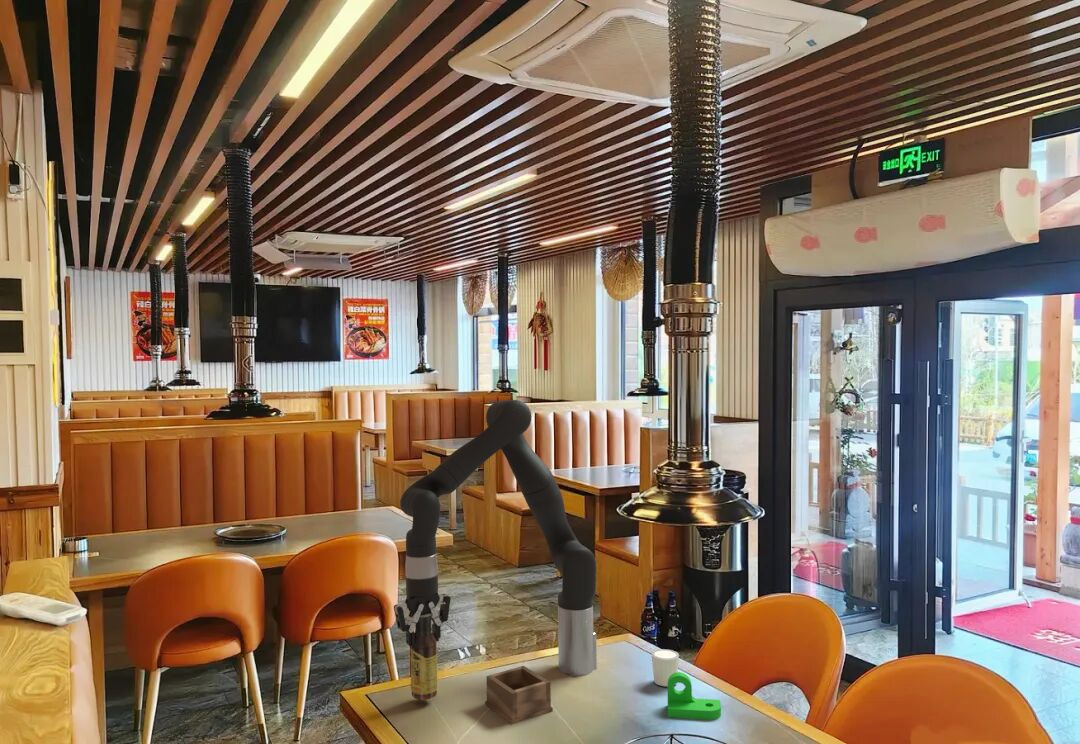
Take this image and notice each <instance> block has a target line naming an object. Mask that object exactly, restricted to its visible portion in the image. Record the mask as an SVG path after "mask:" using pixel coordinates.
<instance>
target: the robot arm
mask: <svg viewBox="0 0 1080 744" xmlns="http://www.w3.org/2000/svg"><path fill="white" fill-rule="evenodd" d="M485 422H486V425H487V427H486V428H485V429H484V430H483V431H482V432H480V433H479V434H478V435H477V436H475V437H474V438H473V439H471V440H470V441H468V442H466V443H465V444H462V446H460V447H459V448H457V449H456V450H454V451H453V452H452V453H451V454H450V455H449V456H447V457H446V458H445V459H444V460H443V461H442V462H441V463H440V464H439V465H438V466H436V467H435V469H433V471H431V472H430V473H427V474H426V475H425V476H423V477H422V478H420V479H418V480H417V481H415V482H414V483H412V484H411V485H410V486H408V488H406V490H405V491H404V492H403V494H402V495H401V498H400V501H399V505H400V509H401V511H402V512H403V513H404V514H405V515H406V516H408V517H410V518H412V523H411V524H412V525H411V529H409V530H408V531H407V532H406V536H405V566H404V567H405V594H406V598H405V601H404V602H403V603H401V604H397V603H396V604H394V605H393V611H394V616H395V620H396V626H397V629H398V630H400V631H401V632H405V643H406V645H407V646H408V647H409V648H410V647H411V648H414V647H415V625H416V623H417V622H418V620H419V617H420V615H424V614H428V613H432V620H431V628H432V631H431V632H432V634H433V635H434V637H435V639H436V643H437V642H439V641H440V639H441V635H442V634H441V631H442V630H441V627H442V626H441V625H442V624H443V623H444V622H448V620H449V614H450V607H451V606H450V605H451V596H450V595H448V594H445V593H443V594H441V595H440V594H439V573H438V571H439V567H438V558H437V538H436V534H437V532H438V527H439V521H440V517H441V503H440V500H439V498H440V497H441V496H443V495H450V494H452V493H453V492H454V491H455V490H457V489H458V488H459V487H460V486H461V485H462V484H463V483H464V482H465V481H467V479H469V477H470V476H471V475H472V474H474V472H475V471H476V470H477V469H479V468H480V466H482V465H483V464H484V463H485V462H486V461H487V460H489V458H491V457H492V456H494V455H495V454H496V453H497V452H499V451H500V450H501V451H502V453H503V455H504V456H505V460H506V461H507V464H508V466H509V468H510V469H511V472H512V474H513V476H514V478H515V480H516V482H517V485H518V487H519V489H520V492H521V494H522V496H523V498H524V500H525V502H526V504H527V506H528V508H529V510H530V512H531V514H532V516H533V517H534V520H535V522H536V523H537V525H538V527H539V529H540V530H541V531H542V533H543V536H544V538H545V541H546V545H547V546H548V550H549V552H550V555H551V560H552V561H553V564H554V566H555V568H556V570H557V571H558V572H559V573H560V574H561V575H562V587H561V592H560V591H559V593H558V596H557V627H558V628H557V630H558V631H557V633H558V634H557V637H558V640H557V641H558V642H557V643H558V646H557V647H558V670H559V671H560V672H561V673H563V674H565V675H566V676H573V677H582V676H588V675H590V674H593V672H594V671H595V670H597V669H598V665H597V664H598V659H597V657H598V654H597V649H598V648H597V645H598V643H597V633H596V632H595V631H594V598H595V596H596V590H597V587H596V586H597V563H596V562H597V561H596V557H595V555H594V553H593V551H591V550H590V549H589V548H587V547H586V546H584V545H582V544H581V543H580V541H579V540H578V539H577V537H576V535H575V533H574V531H573V530H572V527H571V526H570V524H569V522H568V519H567V514H566V508H565V507H566V506H565V502H564V499H563V495H562V492H561V489H560V487H559V485H558V483H557V481H556V479H555V476H554V474H553V473H552V471H551V470H550V468H549V466H547V464H546V463H545V462H544V461H543V460H542V459H541V458H540V456H539V455H537V453H536V452H535V451H534V450H533V449H532V447H531V445H529V443H528V441H527V439H526V437H525V434H524V433H525V432H526V431H527V430H528V429H529V427H530V425H531V422H532V411H531V408H529V406H528V405H527V403H525V402H523V400H522V401H521V400H517V399H509V400H508V399H506V400H499V401H495V402H493V403H491V404H490V405H489V406H488V408H487V411H486V415H485ZM438 604H439V613H438V611H437V609H436V607H437V605H438ZM406 609H407V610H408V614H407V615H406V617H405V614H406ZM405 618H406V619H405Z"/></svg>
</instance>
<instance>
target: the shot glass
mask: <svg viewBox="0 0 1080 744" xmlns="http://www.w3.org/2000/svg"><path fill="white" fill-rule="evenodd" d="M679 658H680V654H679V653H678V652H677V651H674V650H673V649H665V648H662V649H656V650H654V651H652V652H651V661H652V662H651V663H652V673H653V681H654V683H655V684H656V685H658V686H660V687H661V686H662V687H668V679H669V677H670V676H671V675H672V674H674V673H676V672H679V671H678V670H679Z"/></svg>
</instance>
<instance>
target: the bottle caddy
mask: <svg viewBox="0 0 1080 744" xmlns="http://www.w3.org/2000/svg"><path fill="white" fill-rule="evenodd" d="M485 677H486V700H485V701H484V705H485V706H486V705H487V706H486V707H488V708H489V709H491V710H492V711H493V712H495V713H496V714H497V715H499V716H500V717H501V718H503V719H504V720H506V721H507V722H508V723H510V724H511V725H513V724H517V723H520V722H524V721H526V720H530V719H533V718H536V717H540V716H542V715H543V716H544V715H546V714H551V713H553V712H554V711H553V709H554V708H553V707H552V698H551V695H552V693H551V692H552V691H551V689H552V688H551V687H552V685H551V681H550V680H548V679H546V678H545V677H543V676H541V675H540V674H538V673H536V672H534V671H533V670H532V669H530V668H528V667H527V666H525V665H520V666H518V667H515V668H510V669H507V670H504V671H500V672H497V673H493V674H490V675H486V676H485Z"/></svg>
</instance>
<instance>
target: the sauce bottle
mask: <svg viewBox="0 0 1080 744" xmlns="http://www.w3.org/2000/svg"><path fill="white" fill-rule="evenodd" d="M414 632H415V647H414V648H411V647H409V648H410V654H409V655H410V663H409V665H410V690H411V696H412V698H414V699H416V700H419V701H426V700H430V699H433V698H435V697H437V694H438V651H437V642H436V639H435V637H434V635H433V634H432V613H428V614H424V615H420V617H419V620H418V622H417V623H416V625H415V628H414Z"/></svg>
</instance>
